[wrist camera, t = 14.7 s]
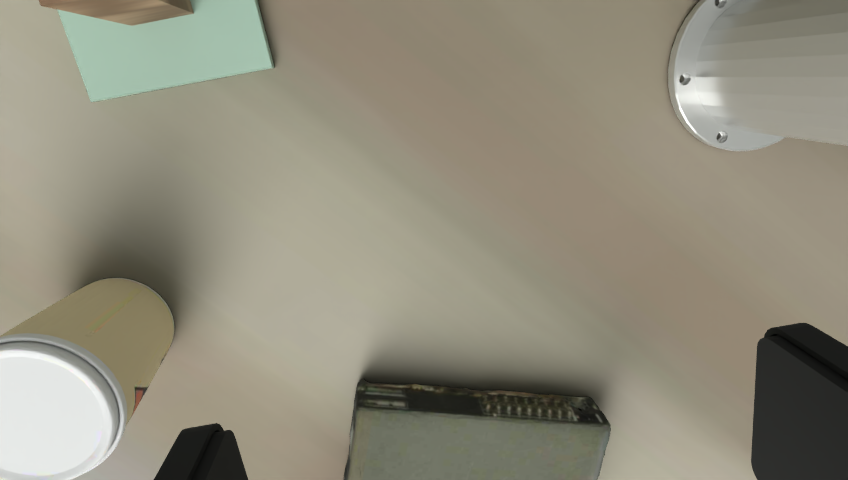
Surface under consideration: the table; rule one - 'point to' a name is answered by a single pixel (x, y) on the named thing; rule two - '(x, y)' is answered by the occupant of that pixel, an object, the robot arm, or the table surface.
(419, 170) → the table surface
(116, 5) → the walnut peg
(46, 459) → the coffee cup
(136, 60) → the green pad
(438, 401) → the network switch
